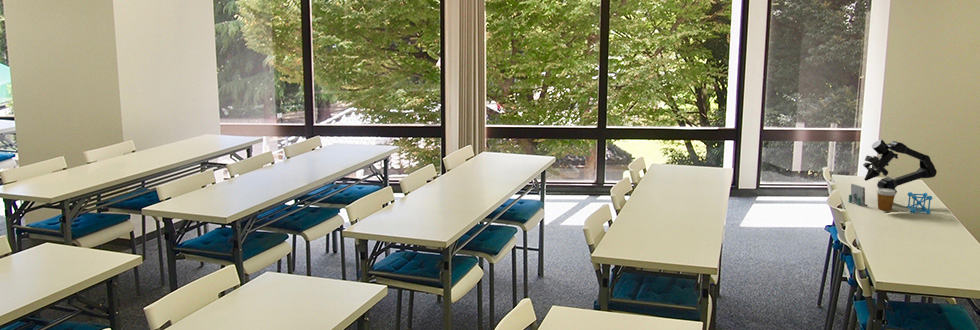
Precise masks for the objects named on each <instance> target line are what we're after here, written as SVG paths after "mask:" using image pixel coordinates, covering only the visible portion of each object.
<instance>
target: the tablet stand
mask: <svg viewBox="0 0 980 330" xmlns="http://www.w3.org/2000/svg"><path fill="white" fill-rule="evenodd" d="M847 202H848V203H849V204H850V203H853V202H852V195H851V194H848V201H847ZM860 202H861V198H860V197H858V198H857V203H856V206H861V204H860ZM863 206H864V207H868V206H869V205H868V204H866V203H865V204H864V205H863Z"/></svg>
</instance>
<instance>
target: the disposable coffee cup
mask: <svg viewBox="0 0 980 330" xmlns="http://www.w3.org/2000/svg"><path fill="white" fill-rule="evenodd" d="M876 194H877V210H879V211H883V213H886V214H887V213H888V214H889V213H890V212H891V211H892V209H893V208H892V207H893V206H894V203H893V202H894V201H895V196H896V194H897V193H896V192H895V190H893V189H886V188H880V189H879V188H877V190H876Z"/></svg>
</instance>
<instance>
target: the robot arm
mask: <svg viewBox="0 0 980 330" xmlns="http://www.w3.org/2000/svg"><path fill="white" fill-rule="evenodd" d="M871 148H872V149H873V151H875V152H876V153H877V154H878V155H880V156H879V157H878V156H876V155H873V156H872V155H871V156H870V155H866V156H865V159H864V161H865V162H864V163H863V164H862V166H863V167H865V169H866V170H867V171H866V174H865V177H864V180H865V181H867V182H868V181H869V180H871V179H873V178H874V179H875V178H877V177H879V176H881V173H882V176H884V177H883V178H881V179H880V180H878V182H877V185H876V186H877V189H880V188H886V189H893V190H895V192H896V194H897V192H898V191H897V189H896V188H897V187H898V186H902V185H904V184H907V183H908V184H909V183H910V182H913V181H917V180H920V179H930V178H935V177H936V176H937V173H938V170H937V169H936V168H935V167H936V166H935V165H934V163H933V162H932V160H931V157H930V156H929V155H927V154H924V153H921V152H919V151H918V150H914V149H911V148H909V147H908V146H907V145H906V144H904V143H903V142H899V141H895V140H892V141H891V142H890V143H886V142H885V141H884V139H881V138H880V139H879V140H876V141H875V142H873V143H872V145H871ZM899 153H900V154H904V155H907V156H909V157H911V158H914V159H917V160H919V168H918V169H917V170H916V171H913V172H910V173H907V174H904V175H901V176H898V177H894V178H893V177H890V176H888V174H889V170H888V169H886V166H887V167H888V166H889V165H890V162H891V161H893V159H896V160H898V159H899ZM893 204H895V202H894V201H893Z"/></svg>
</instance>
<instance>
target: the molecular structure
mask: <svg viewBox="0 0 980 330" xmlns="http://www.w3.org/2000/svg"><path fill="white" fill-rule="evenodd" d="M907 196H908V203H907V205H906V208H907V209H909V210H910V213H911V214H914V213H916V212H917V213H926V214H927V215H930V214H931V213H932V210H931V209H930V208H931V200H933V196H932V195H928V193H927V192H923V193H912V192H911V191H909V192H908V193H907ZM911 199H912V200H913V202H912V204H911ZM919 199H920V200H919ZM926 201H928V205H927V207H928V208H927V207H926ZM922 203H923V204H922ZM918 206H920V207H918ZM917 209H918V210H917Z"/></svg>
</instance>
